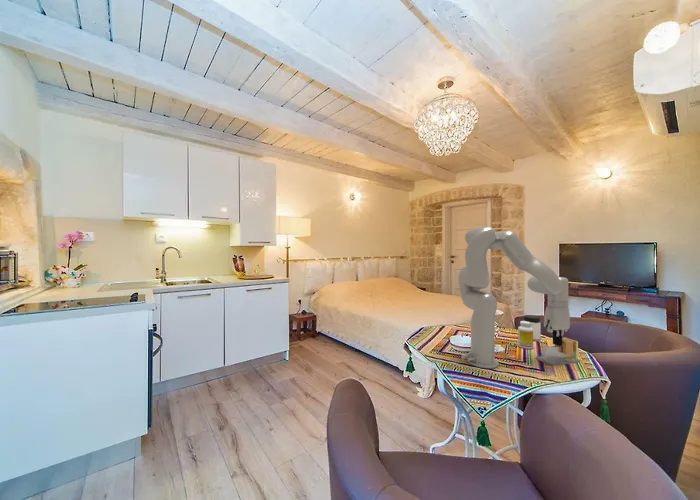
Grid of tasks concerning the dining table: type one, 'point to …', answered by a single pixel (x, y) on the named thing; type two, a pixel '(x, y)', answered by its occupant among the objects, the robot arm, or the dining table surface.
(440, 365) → the dining table surface
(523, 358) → the dining table surface
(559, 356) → the flange rail
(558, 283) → the robot arm
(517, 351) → the dining table surface
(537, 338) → the jar
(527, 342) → the supplement bottle
